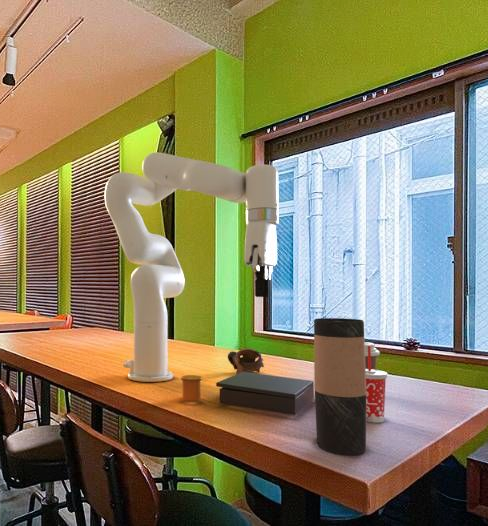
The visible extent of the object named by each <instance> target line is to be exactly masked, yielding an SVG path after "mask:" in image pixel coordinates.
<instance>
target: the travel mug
mask: <svg viewBox="0 0 488 526" xmlns="http://www.w3.org/2000/svg"><path fill="white" fill-rule="evenodd" d="M313 340H314V341H313V364H314V366H313V367H314V368H313V369H314V371H313V373H314V376H313V377H314V379H313V381H314V404H315V405H314V407H315V425H316V426H315V427H316V441H317V442H316V443H317V446H318V448H320V449H321V450H323V451H325V452H329V453H332V454H336V455H341V456H358V455H362V454H364V453H365V452H366V450H367V449H366V448H367V417H366V368H365V342H366V341H365V340H366V339H365V321H364V320H363V319H358V318H340V317H337V318H336V317H320V318H314V320H313Z"/></svg>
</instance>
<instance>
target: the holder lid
mask: <svg viewBox="0 0 488 526" xmlns="http://www.w3.org/2000/svg"><path fill="white" fill-rule="evenodd" d="M215 384H216V385H215V387H218V388H222V387H223V388H230V389H236V390H243V391H249V392H256V393H262V394H268V395H275V396H281V397H288V398H294V399H295V398H296V397H298V396H299V395H300V394H302V393H303V392H304V391H306V390H307V389H308V388H310V387H311V386H312V385H314V380H310V379H302V378H294V377H287V376H278V375H271V374H265V373H258V372H257V373H256V372H241V373H238V374H234V375H231V376H229V377H226V378H224V379H222V380H219V381H217V382H216V383H215ZM314 386H315V385H314Z"/></svg>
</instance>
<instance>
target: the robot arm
mask: <svg viewBox="0 0 488 526" xmlns="http://www.w3.org/2000/svg"><path fill="white" fill-rule="evenodd" d="M141 169H142V170H141V171H142V173H143V175H144V176H145V177H144V176H141V175H138V174H134V173H132V172H125V171H123V172H122V171H120V172H116V173H114V174H112V175H111V176H110V177H109V178H108V180H107V182H106V184H105V188H104V204H105V207H106V211H107V213H108V215H109V216H110V219H111V221H112V223H113V225H114V228H115V231H116V234H117V237H118V240H119V243H120V245H121V248H122V251H123V253H124V255H125V259H126V260H127V261H128V262H129V263H131V264H134V265H139V266H138V267H136V268H135V269H134V270H133V272H132V273H131V276H130V281H129V282H130V291H131V296H132V303H133V360H129V359H127V360H126V359H125V362H124V363H123V364H122V365H123V368H124V369H129V371H130V372H128V373H127V378H128V379H129V380H131V381H134V382H141V383H158V382H165V381H170V380H172V379H174V373H173V372H172V371H170V370H168V363H169V362H168V360H169V359H168V358H169V357H168V356H169V355H168V343H169V342H168V339H169V338H168V336H169V335H168V329H169V328H168V325H169V323H168V320H169V319H168V318H169V316H168V308H167V305H166V302H165V300H164V299H170V298H176V297H178V296H180V295H181V294H182V292H183V291H184V289H185V285H186V280H185V275H184V271H183V269H182V266H181V263H180V262H179V259H178V257H177V255H176V252H175V249H174V248H173V245H172V243H171V242H170V241H169V240H168V238H166V237H165V236H163V235H161V234H157V233H151V232H149V230H148V228H147V226H146V225H145V222H144V220H143V219H144V218H143V217H142V215H141V214H140V212H139V211H138V210H137V209H136V207H135V206H134V205H139V206H143V207H152V206H154V205H156V204H158V203H160V202H161V201H163V199H165V198H167V197H168V196H169V195H171V194H173V193H174V192H175V191H177V190H181V191H184V192H189V191H193V192H197V193H200V194H205V195H208V196H211V197H214V198H218V199H221V200H224V201H227V202H230V203H234V204H244V203H245V226H246V228H245V235H244V236H245V238H244V259H243V260H244V262H243V263H244V264H245V265H246V266H247V267H251V270H252V271H253V277H254V296H255V297H256V298H270V297H271V294H272V293H271V291H272V289H271V288H272V287H271V286H272V285H271V279H272V272H273V268H274V267H276V265H277V263H278V241H277V239H278V238H277V229H276V227H277V226H279V223H280V221H279V220H280V219H279V172H278V169H277V168H276V167H275V165H272V164H255V165H252V166H250V167H248V168H247V169H246V171H245V172H242V171H239V170H236V169H234V168H232V167H229V166H227V165H223V164H220V163H214V162H209V161H205V160H200V159H194V158H189V157H183V156H178V155H175V154H170V153H164V152H156V151H155V152H152V153H149V154H148V155H146V156H145V157H144V159H143V161H142V165H141Z"/></svg>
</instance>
